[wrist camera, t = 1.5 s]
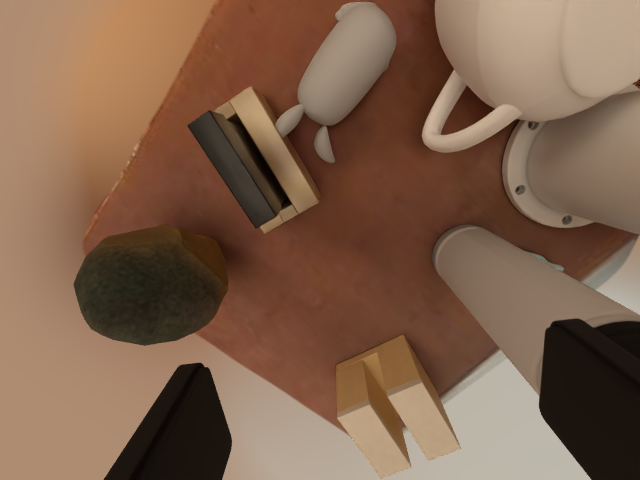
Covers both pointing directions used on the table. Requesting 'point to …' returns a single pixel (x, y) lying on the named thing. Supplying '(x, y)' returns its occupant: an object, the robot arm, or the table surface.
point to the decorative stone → (151, 285)
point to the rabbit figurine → (342, 71)
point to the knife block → (273, 153)
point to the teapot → (531, 60)
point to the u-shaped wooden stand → (391, 406)
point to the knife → (240, 166)
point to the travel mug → (523, 297)
